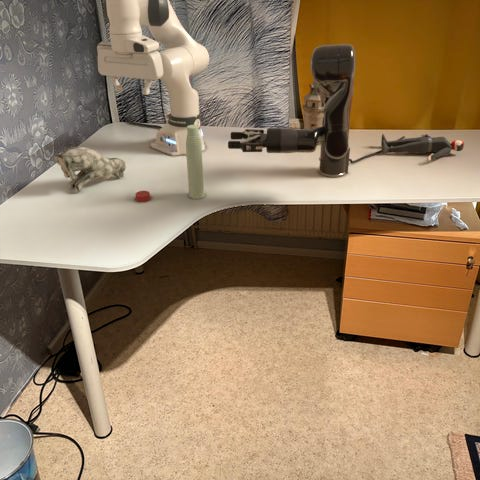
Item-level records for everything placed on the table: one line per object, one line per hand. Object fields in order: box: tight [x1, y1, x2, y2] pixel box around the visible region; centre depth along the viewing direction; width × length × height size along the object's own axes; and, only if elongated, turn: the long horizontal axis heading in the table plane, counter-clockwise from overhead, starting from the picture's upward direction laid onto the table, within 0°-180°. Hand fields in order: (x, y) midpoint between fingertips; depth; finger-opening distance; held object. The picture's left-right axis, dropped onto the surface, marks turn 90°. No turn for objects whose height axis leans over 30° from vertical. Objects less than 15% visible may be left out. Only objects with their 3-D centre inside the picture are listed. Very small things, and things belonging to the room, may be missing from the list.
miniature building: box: [300, 79, 325, 145], centre depth 213 cm, size 13×14×30 cm
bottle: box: [185, 125, 205, 200], centre depth 169 cm, size 5×5×23 cm
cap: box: [134, 190, 151, 203], centre depth 173 cm, size 5×5×2 cm
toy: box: [380, 133, 465, 162], centre depth 205 cm, size 26×6×30 cm
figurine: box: [54, 146, 127, 193], centre depth 180 cm, size 10×19×20 cm
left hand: (132, 92), depth 157 cm, fingers open, 8 cm apart
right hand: (229, 140), depth 165 cm, fingers open, 8 cm apart
